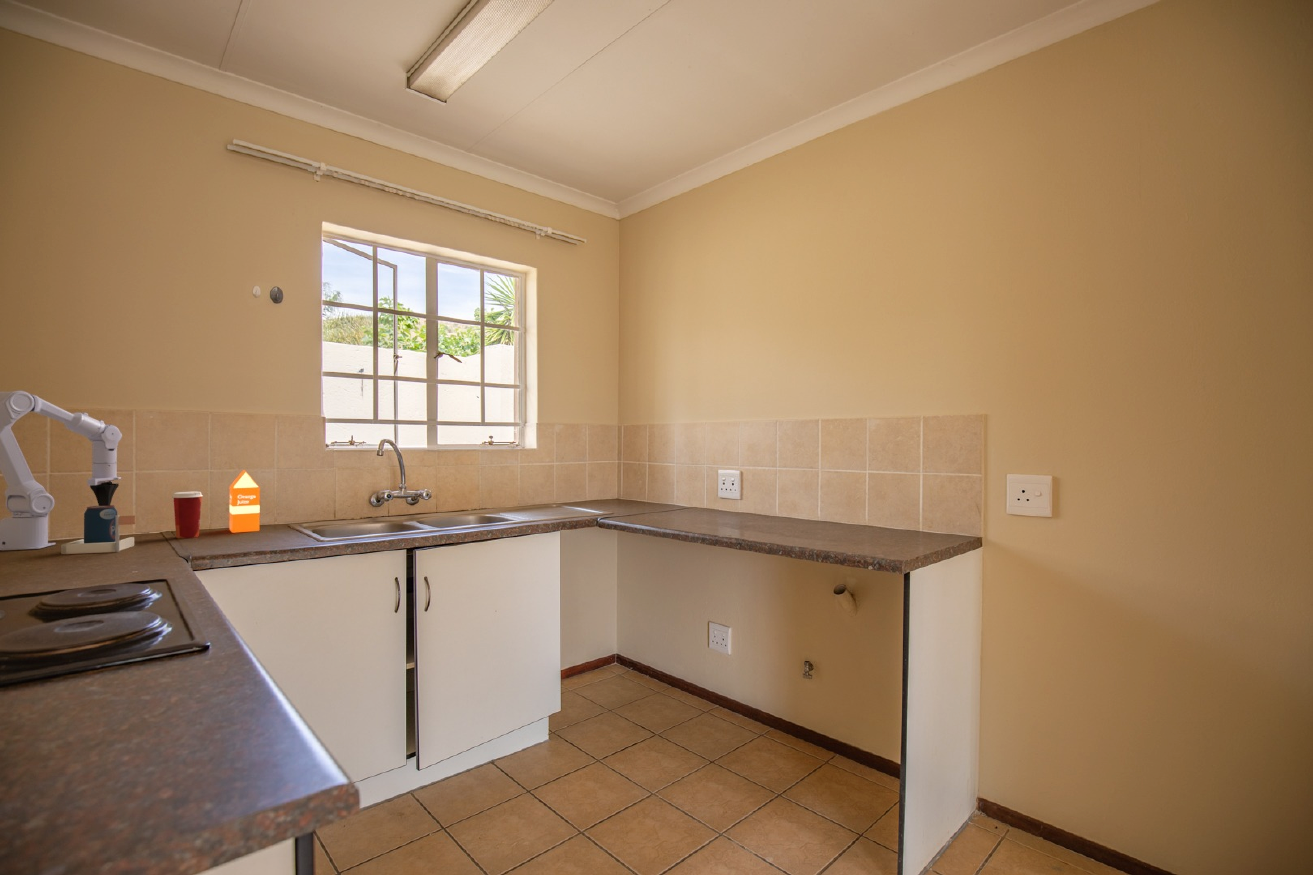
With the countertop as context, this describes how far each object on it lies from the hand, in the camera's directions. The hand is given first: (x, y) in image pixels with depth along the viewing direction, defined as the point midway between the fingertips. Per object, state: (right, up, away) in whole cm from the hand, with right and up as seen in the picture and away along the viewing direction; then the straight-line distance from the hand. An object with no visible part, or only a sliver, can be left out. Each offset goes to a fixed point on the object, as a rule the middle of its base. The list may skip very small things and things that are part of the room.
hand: (104, 507), depth 194 cm
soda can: (+17, -10, -20) cm, 28 cm away
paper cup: (+25, -10, +1) cm, 27 cm away
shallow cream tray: (+19, -10, -21) cm, 30 cm away
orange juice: (+33, -10, +16) cm, 38 cm away
